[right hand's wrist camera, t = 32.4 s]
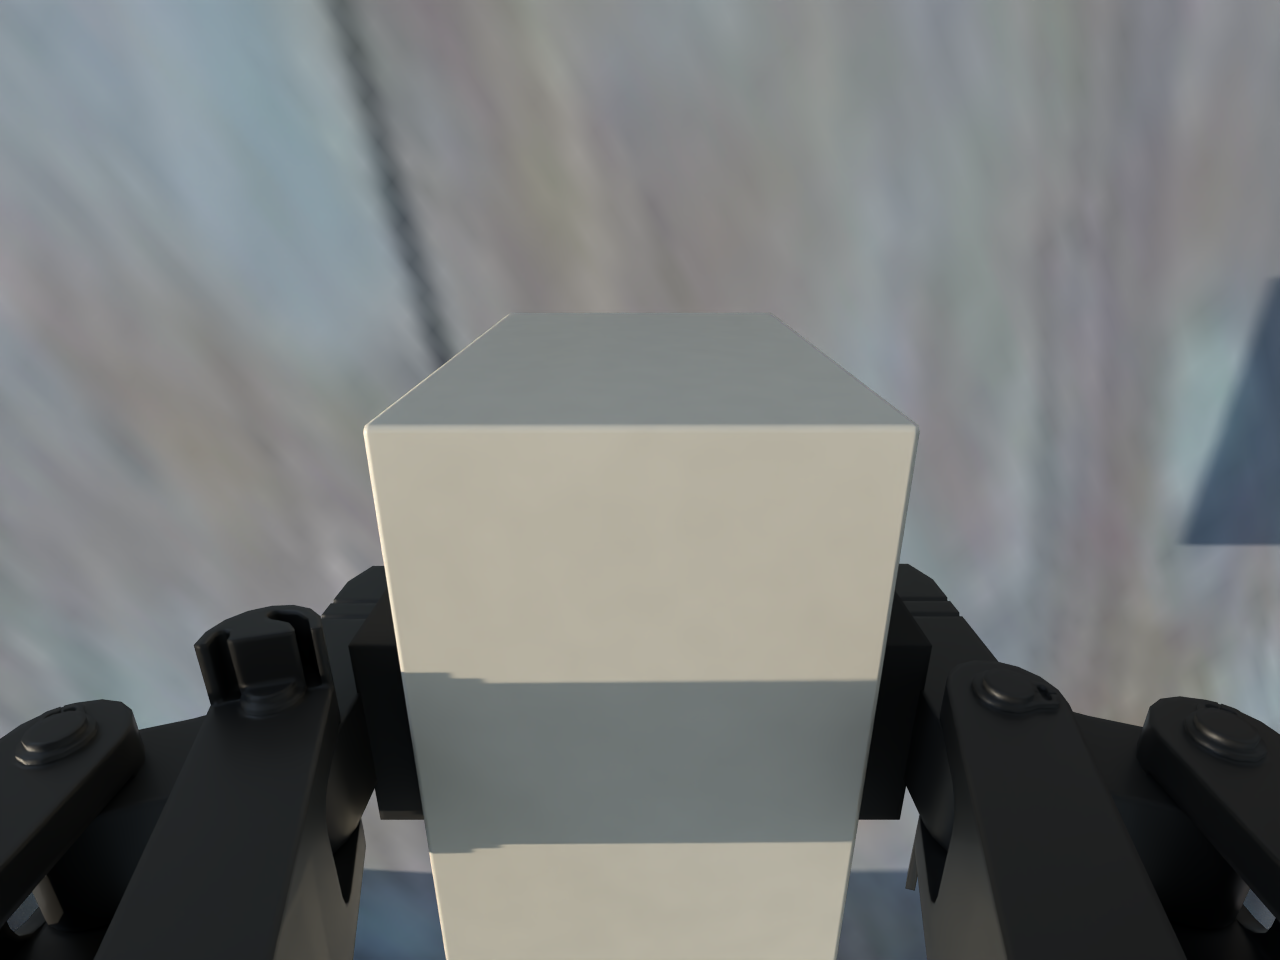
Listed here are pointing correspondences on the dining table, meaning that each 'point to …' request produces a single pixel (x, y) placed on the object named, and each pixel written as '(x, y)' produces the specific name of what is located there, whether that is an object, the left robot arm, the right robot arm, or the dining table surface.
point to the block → (641, 630)
